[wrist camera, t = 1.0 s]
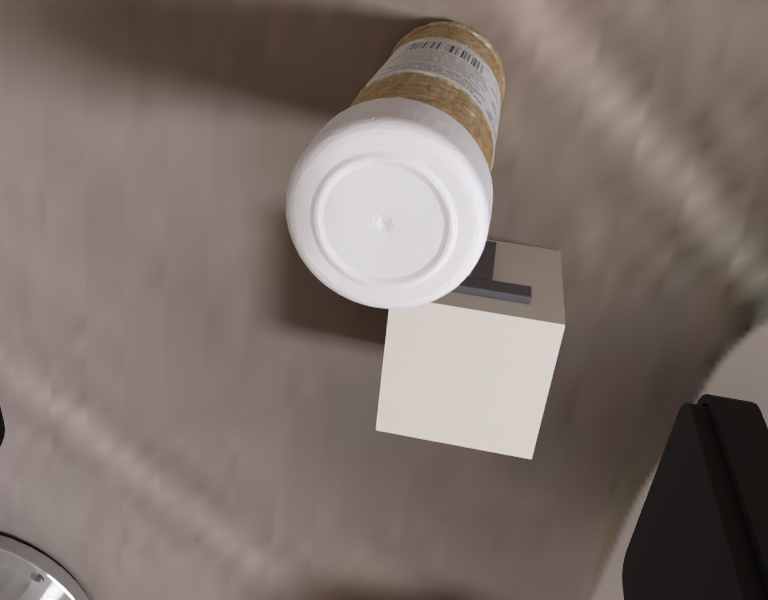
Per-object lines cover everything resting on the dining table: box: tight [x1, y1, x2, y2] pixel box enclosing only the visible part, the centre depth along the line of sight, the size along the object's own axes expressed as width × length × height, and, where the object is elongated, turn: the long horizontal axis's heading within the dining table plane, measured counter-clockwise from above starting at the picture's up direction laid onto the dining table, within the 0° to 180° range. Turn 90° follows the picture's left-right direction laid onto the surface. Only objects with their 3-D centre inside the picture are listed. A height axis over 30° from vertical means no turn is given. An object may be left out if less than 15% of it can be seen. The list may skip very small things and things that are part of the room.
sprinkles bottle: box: [286, 21, 506, 309], centre depth 22 cm, size 5×5×14 cm
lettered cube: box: [376, 239, 565, 459], centre depth 29 cm, size 6×6×6 cm
